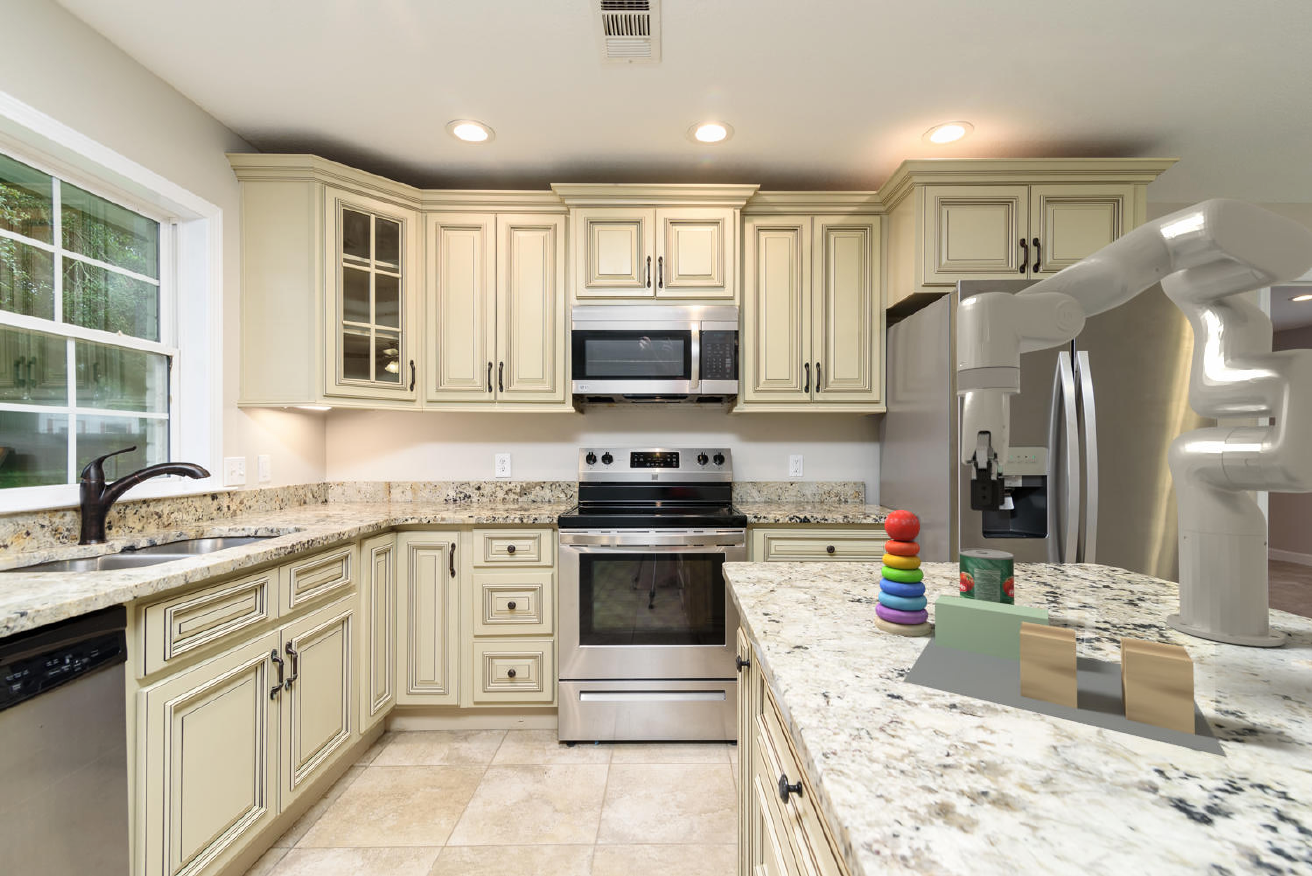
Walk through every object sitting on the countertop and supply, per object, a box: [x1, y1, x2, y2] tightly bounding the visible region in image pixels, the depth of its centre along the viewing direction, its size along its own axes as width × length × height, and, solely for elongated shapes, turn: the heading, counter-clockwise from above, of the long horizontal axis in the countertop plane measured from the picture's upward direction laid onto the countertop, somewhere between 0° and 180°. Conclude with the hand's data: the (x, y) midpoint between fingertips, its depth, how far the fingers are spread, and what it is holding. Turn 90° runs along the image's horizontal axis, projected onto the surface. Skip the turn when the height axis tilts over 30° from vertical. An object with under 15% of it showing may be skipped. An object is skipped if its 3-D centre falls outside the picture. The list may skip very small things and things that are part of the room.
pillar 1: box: [1020, 622, 1077, 708], centre depth 62 cm, size 5×5×7 cm
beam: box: [934, 594, 1050, 661], centre depth 75 cm, size 5×13×6 cm, turn 54°
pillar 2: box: [1120, 636, 1195, 735], centre depth 56 cm, size 5×5×7 cm
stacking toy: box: [873, 509, 932, 637], centre depth 85 cm, size 8×8×19 cm
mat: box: [903, 632, 1227, 758], centre depth 66 cm, size 22×27×1 cm
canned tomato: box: [958, 548, 1015, 605], centre depth 91 cm, size 8×8×11 cm
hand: (988, 507), depth 75 cm, fingers open, 9 cm apart
